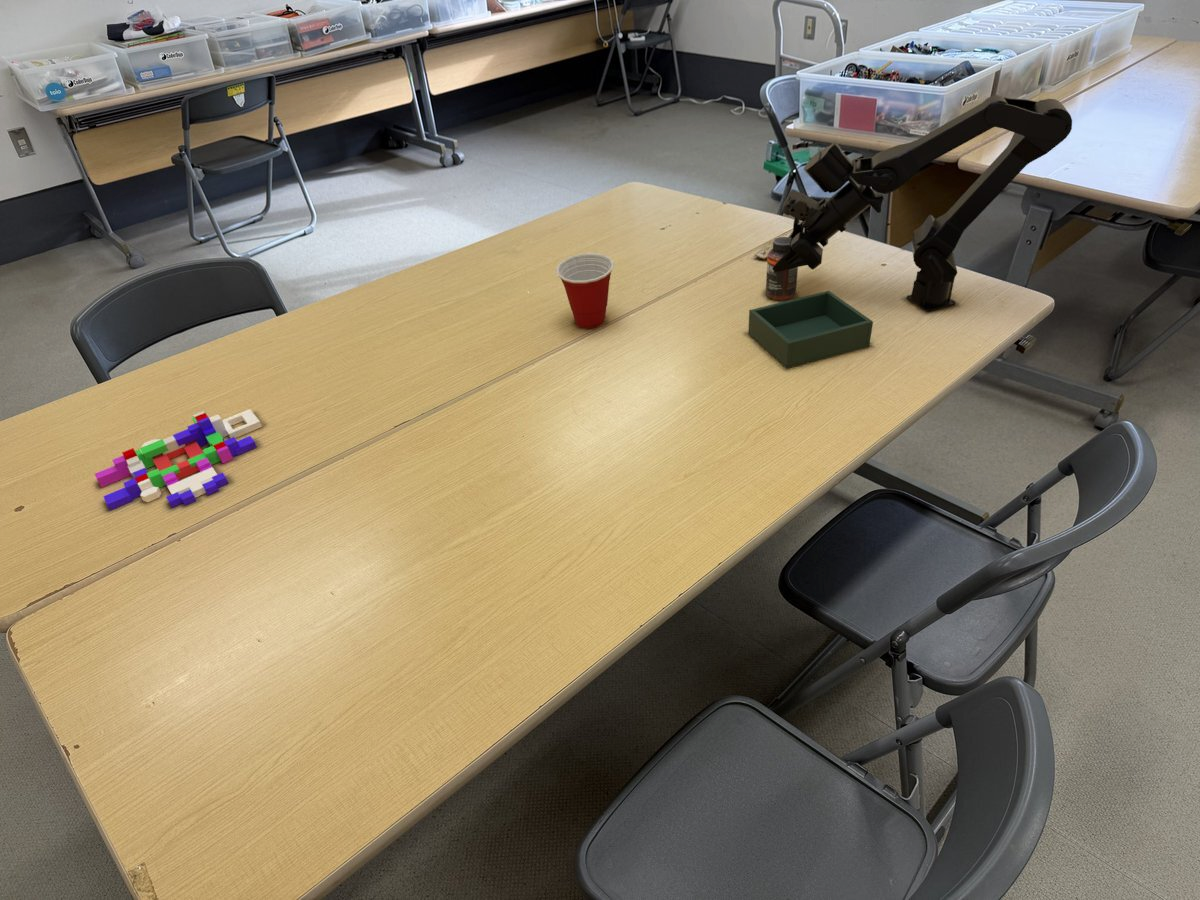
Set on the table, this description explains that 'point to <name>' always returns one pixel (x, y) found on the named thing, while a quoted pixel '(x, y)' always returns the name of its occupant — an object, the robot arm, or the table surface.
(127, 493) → the building block set
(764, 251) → the snack bar
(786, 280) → the supplement bottle
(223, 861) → the table surface
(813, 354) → the bin
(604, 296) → the plastic cup
